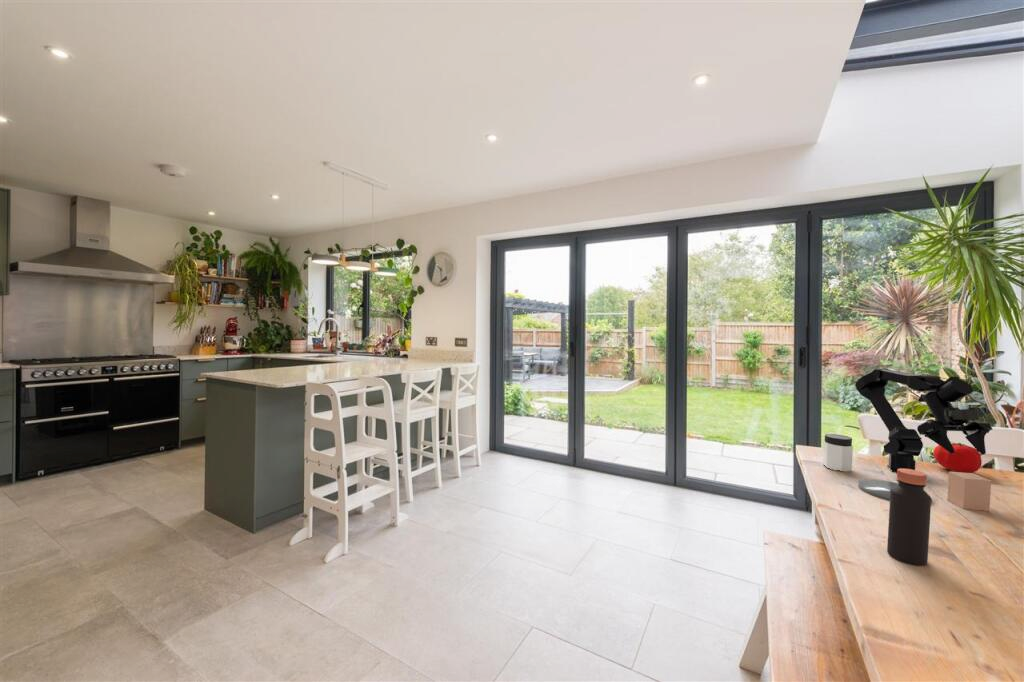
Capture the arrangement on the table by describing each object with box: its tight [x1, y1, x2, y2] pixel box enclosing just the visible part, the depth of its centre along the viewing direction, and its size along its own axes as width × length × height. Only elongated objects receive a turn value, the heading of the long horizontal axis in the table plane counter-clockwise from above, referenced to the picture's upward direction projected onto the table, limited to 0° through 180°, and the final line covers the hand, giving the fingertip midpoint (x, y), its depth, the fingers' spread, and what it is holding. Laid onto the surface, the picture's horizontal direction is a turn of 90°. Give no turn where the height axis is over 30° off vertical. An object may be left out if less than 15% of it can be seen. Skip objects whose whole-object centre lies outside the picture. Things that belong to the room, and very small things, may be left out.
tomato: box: [932, 441, 983, 473], centre depth 157 cm, size 13×12×11 cm
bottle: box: [886, 468, 932, 566], centre depth 96 cm, size 7×7×20 cm
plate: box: [857, 478, 898, 501], centre depth 135 cm, size 17×17×1 cm
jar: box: [821, 433, 854, 472], centre depth 158 cm, size 9×8×12 cm
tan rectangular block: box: [946, 470, 992, 512], centre depth 126 cm, size 6×6×9 cm
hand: (968, 453), depth 132 cm, fingers open, 9 cm apart
